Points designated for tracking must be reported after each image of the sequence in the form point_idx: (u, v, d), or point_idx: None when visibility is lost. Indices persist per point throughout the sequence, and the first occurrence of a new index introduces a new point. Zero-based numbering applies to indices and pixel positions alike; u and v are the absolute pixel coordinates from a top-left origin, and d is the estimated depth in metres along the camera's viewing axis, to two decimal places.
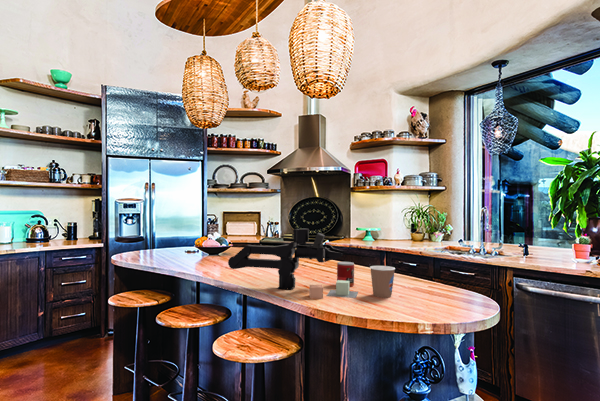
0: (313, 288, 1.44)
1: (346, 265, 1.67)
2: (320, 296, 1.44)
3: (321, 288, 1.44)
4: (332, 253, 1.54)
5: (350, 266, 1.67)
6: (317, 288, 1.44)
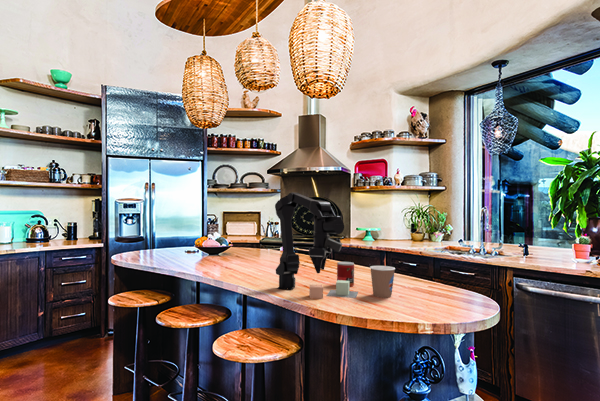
0: (313, 288, 1.44)
1: (346, 265, 1.67)
2: (320, 296, 1.44)
3: (321, 288, 1.44)
4: (319, 263, 1.41)
5: (350, 266, 1.67)
6: (317, 288, 1.44)
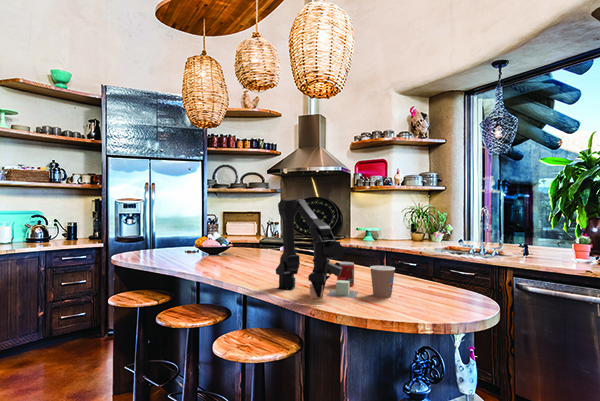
0: (313, 287, 1.44)
1: (346, 265, 1.67)
2: None
3: None
4: (319, 287, 1.43)
5: (350, 266, 1.67)
6: None
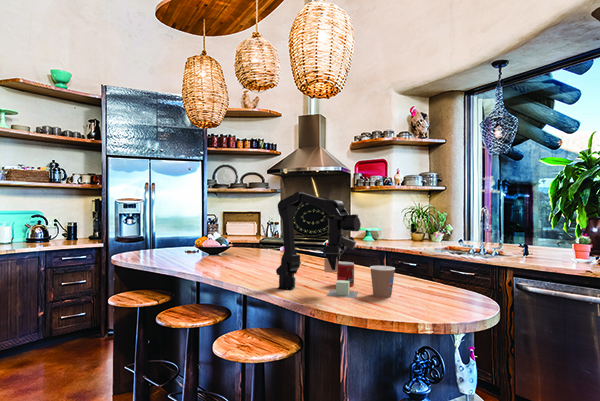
0: None
1: (346, 265, 1.67)
2: (335, 268, 1.48)
3: (336, 261, 1.48)
4: (334, 260, 1.46)
5: (350, 266, 1.67)
6: None
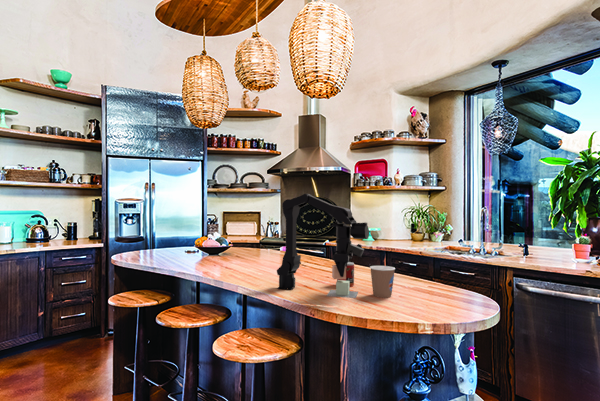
0: (336, 267, 1.50)
1: None
2: None
3: None
4: (342, 267, 1.49)
5: (350, 266, 1.67)
6: None
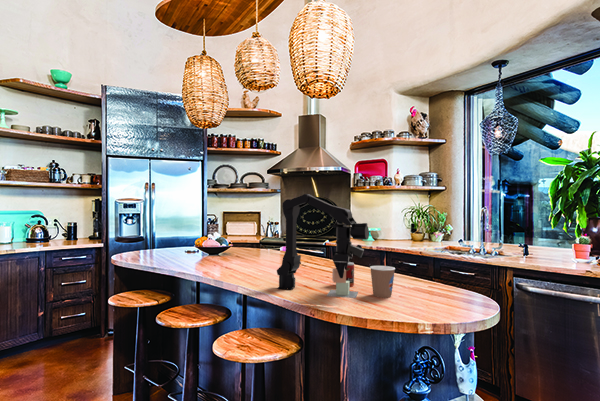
0: (336, 271, 1.50)
1: None
2: (343, 279, 1.50)
3: (344, 271, 1.50)
4: (342, 269, 1.47)
5: (350, 266, 1.67)
6: None
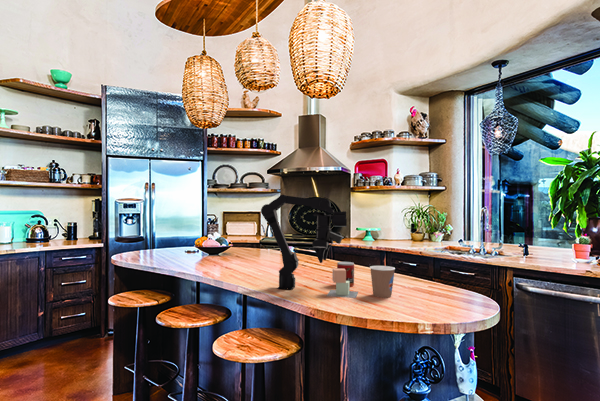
0: (336, 271, 1.50)
1: (346, 265, 1.67)
2: (343, 279, 1.50)
3: (344, 271, 1.50)
4: (321, 254, 1.57)
5: (350, 266, 1.67)
6: (340, 271, 1.50)
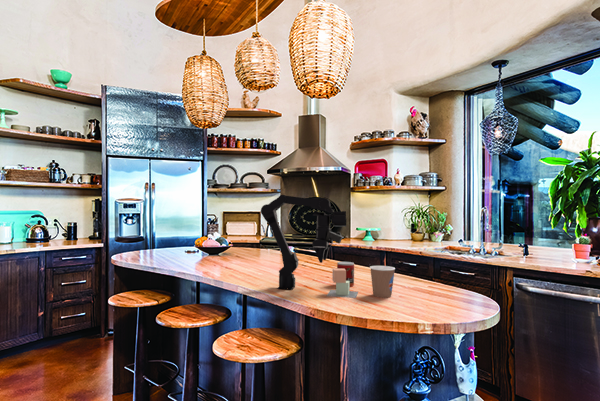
0: (336, 271, 1.50)
1: (346, 265, 1.67)
2: (343, 279, 1.50)
3: (344, 271, 1.50)
4: (321, 253, 1.57)
5: (350, 266, 1.67)
6: (340, 271, 1.50)
